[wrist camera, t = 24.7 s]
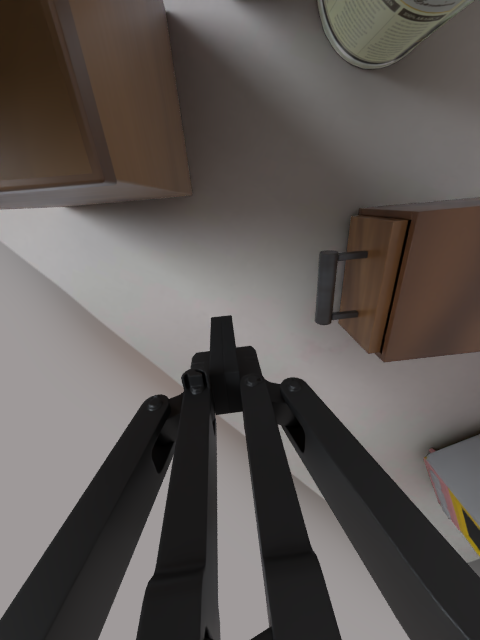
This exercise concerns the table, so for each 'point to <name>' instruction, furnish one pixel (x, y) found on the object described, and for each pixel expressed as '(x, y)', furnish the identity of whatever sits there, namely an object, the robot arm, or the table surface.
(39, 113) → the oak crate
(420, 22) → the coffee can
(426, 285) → the cabinet
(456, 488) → the alarm clock
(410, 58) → the table surface
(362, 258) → the drawer
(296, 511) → the robot arm
